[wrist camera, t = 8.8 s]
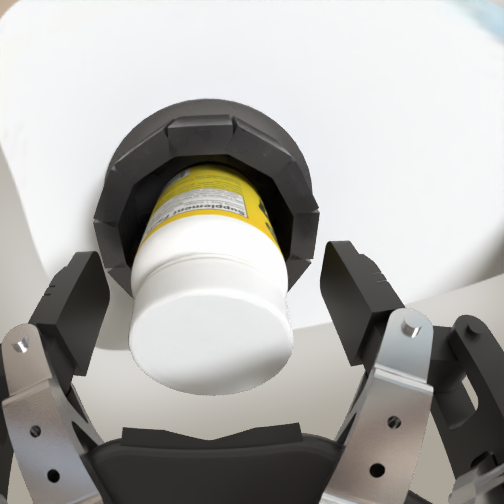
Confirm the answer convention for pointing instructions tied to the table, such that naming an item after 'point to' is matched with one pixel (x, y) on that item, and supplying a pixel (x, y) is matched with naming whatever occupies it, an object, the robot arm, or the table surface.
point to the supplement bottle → (210, 286)
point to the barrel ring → (198, 149)
